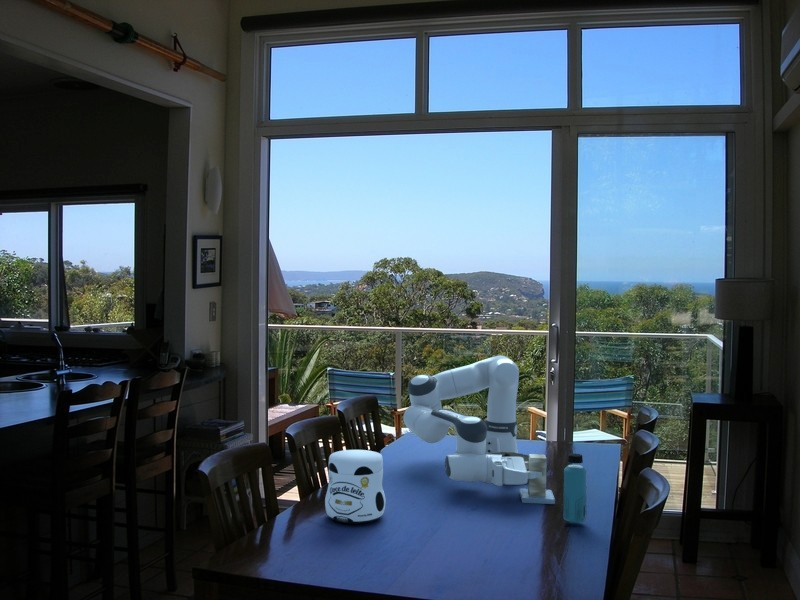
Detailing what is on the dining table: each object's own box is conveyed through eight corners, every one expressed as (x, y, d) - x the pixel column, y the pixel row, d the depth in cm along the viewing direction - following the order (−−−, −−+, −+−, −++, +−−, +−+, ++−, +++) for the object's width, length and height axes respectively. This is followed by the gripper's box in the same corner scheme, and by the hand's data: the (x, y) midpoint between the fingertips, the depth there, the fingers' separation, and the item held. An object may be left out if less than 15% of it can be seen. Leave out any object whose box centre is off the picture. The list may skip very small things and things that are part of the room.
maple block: (529, 495, 226) (530, 457, 225) (528, 491, 231) (529, 453, 230) (545, 496, 225) (546, 458, 225) (544, 491, 230) (544, 454, 230)
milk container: (330, 530, 196) (331, 465, 195) (320, 510, 213) (321, 450, 212) (391, 526, 201) (393, 461, 200) (377, 506, 217) (378, 447, 217)
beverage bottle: (586, 529, 201) (588, 457, 200) (562, 527, 202) (564, 456, 201) (585, 521, 207) (587, 452, 206) (561, 519, 208) (563, 450, 208)
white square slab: (522, 502, 223) (522, 497, 223) (519, 493, 233) (519, 488, 233) (554, 504, 222) (554, 499, 222) (551, 494, 232) (551, 489, 232)
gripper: (494, 469, 239) (537, 471, 238) (497, 487, 219) (543, 489, 218) (495, 451, 239) (537, 452, 238) (497, 467, 219) (543, 469, 217)
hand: (540, 470), depth 228 cm, fingers open, 8 cm apart
